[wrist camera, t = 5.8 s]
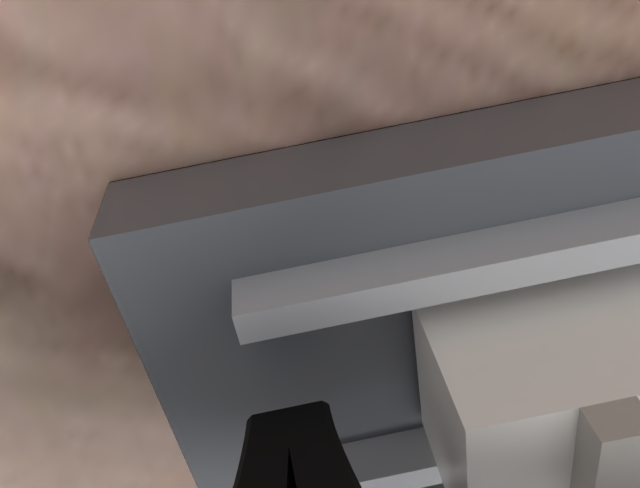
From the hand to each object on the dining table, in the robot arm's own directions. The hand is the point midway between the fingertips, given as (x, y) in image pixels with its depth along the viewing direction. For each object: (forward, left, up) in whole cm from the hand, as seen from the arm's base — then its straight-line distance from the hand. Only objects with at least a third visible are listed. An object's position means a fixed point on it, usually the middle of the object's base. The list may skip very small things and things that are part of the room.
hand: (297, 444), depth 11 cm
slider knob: (-4, 0, -1) cm, 5 cm away
